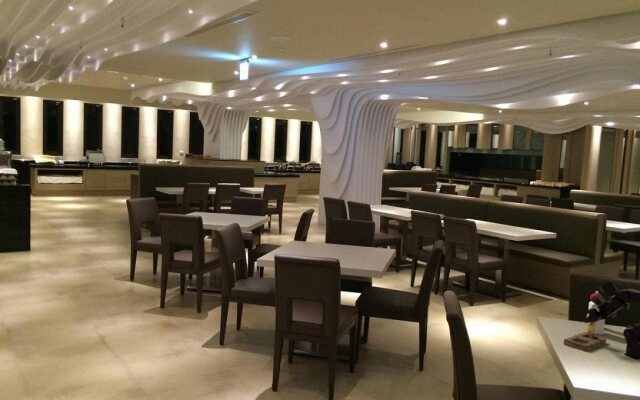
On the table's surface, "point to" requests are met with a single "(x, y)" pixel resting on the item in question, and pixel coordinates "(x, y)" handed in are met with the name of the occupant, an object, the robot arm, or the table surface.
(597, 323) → the milk carton
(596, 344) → the template plate
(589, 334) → the brass bolt
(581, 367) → the table surface
